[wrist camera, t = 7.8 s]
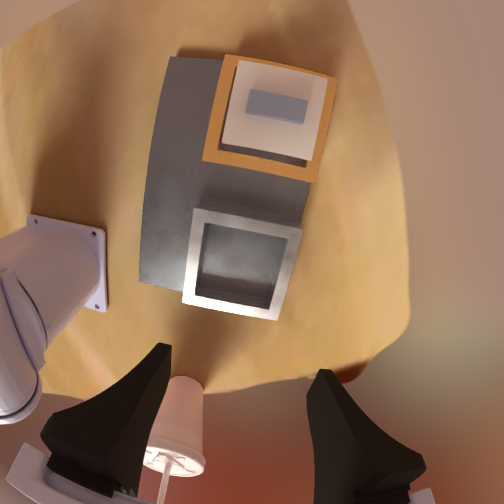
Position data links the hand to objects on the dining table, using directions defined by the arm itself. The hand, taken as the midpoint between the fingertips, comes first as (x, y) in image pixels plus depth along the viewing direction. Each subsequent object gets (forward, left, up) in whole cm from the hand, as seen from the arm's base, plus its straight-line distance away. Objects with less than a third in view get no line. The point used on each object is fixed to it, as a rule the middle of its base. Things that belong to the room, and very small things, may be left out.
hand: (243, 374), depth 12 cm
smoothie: (-4, -14, -10) cm, 18 cm away
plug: (-1, +12, -9) cm, 15 cm away
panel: (-3, +7, -10) cm, 12 cm away
